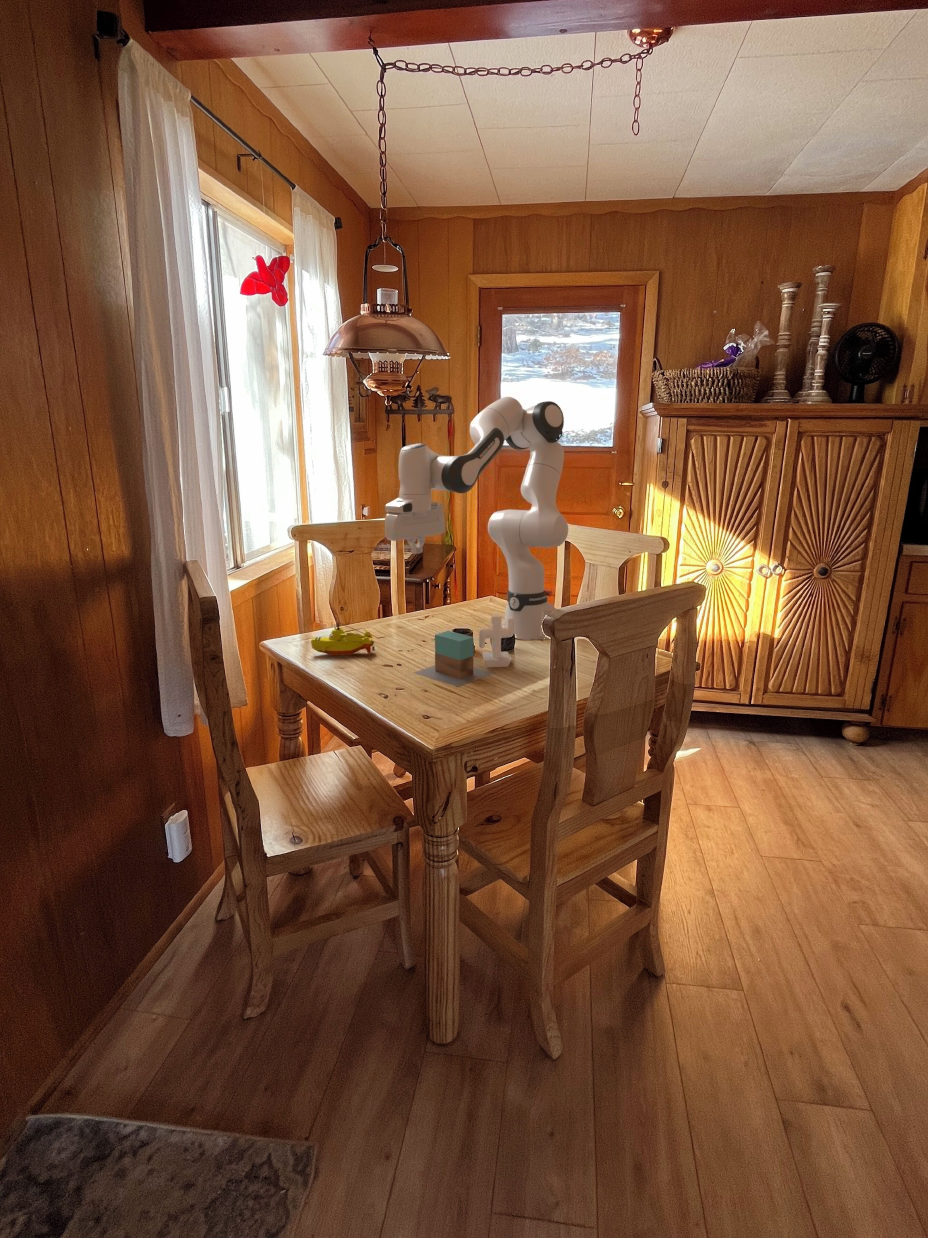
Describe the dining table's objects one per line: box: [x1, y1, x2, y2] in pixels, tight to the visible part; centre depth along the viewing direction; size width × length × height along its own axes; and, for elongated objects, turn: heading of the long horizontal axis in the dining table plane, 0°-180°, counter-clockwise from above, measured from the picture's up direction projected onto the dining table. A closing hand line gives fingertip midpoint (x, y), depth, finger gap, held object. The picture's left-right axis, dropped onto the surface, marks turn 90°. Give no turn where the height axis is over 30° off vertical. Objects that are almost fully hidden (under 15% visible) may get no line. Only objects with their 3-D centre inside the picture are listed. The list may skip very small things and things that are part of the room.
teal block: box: [434, 630, 475, 660], centre depth 180 cm, size 5×9×5 cm, turn 47°
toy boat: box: [310, 621, 376, 657], centre depth 202 cm, size 6×18×10 cm, turn 94°
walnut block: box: [434, 652, 474, 679], centre depth 182 cm, size 5×9×5 cm, turn 47°
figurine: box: [478, 614, 514, 668], centre depth 188 cm, size 7×9×15 cm
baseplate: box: [413, 665, 495, 688], centre depth 183 cm, size 14×16×2 cm
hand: (416, 553), depth 198 cm, fingers closed
